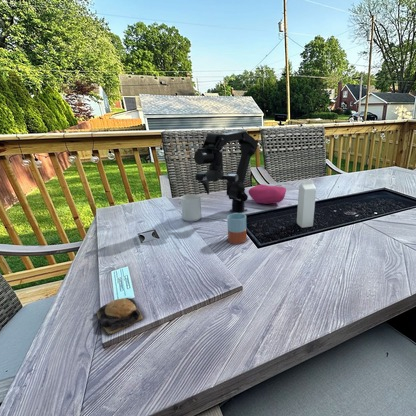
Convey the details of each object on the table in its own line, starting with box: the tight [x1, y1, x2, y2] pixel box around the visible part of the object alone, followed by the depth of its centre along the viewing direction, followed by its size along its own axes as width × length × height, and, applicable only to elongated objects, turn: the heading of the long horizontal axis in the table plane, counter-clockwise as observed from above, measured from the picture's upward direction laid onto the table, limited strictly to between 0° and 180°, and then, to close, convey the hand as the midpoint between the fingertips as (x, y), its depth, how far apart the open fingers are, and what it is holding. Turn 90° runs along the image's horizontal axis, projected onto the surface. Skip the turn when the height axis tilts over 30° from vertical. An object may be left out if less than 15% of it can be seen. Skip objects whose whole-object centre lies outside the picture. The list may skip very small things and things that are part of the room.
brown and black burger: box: [96, 297, 144, 336], centre depth 65 cm, size 11×8×4 cm
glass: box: [226, 212, 247, 233], centre depth 106 cm, size 7×7×6 cm
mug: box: [180, 193, 203, 223], centre depth 126 cm, size 12×9×11 cm
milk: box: [296, 179, 317, 229], centre depth 123 cm, size 6×6×22 cm
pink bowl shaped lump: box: [248, 184, 287, 205], centre depth 155 cm, size 23×19×10 cm
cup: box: [227, 229, 247, 245], centre depth 107 cm, size 7×7×5 cm
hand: (217, 194), depth 124 cm, fingers open, 9 cm apart
